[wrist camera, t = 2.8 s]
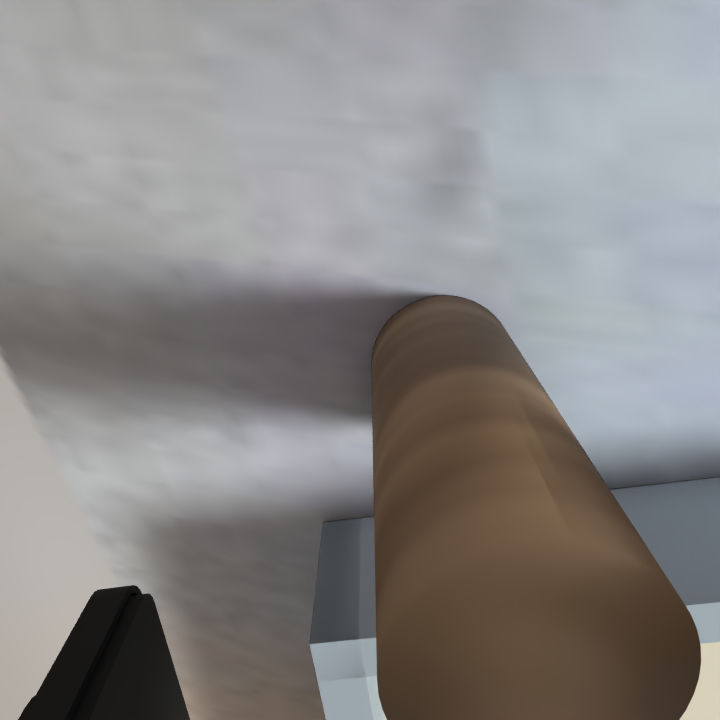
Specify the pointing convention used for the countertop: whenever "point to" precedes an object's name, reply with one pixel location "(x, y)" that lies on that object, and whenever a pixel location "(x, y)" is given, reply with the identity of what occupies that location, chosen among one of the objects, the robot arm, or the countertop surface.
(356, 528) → the box
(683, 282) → the countertop surface
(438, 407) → the dowel
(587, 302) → the countertop surface
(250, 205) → the countertop surface
